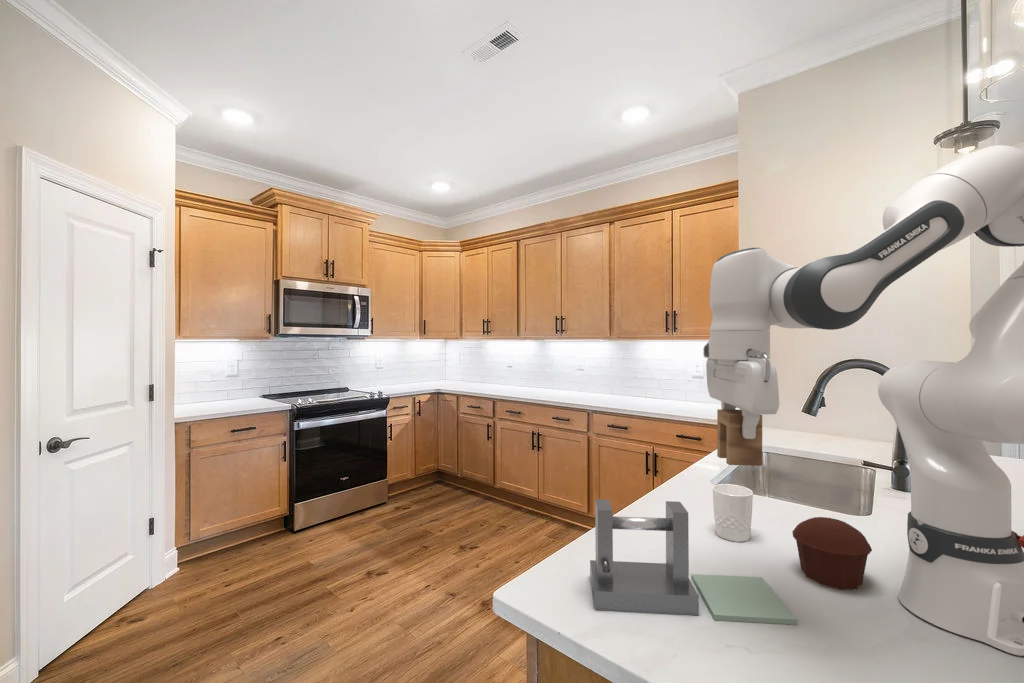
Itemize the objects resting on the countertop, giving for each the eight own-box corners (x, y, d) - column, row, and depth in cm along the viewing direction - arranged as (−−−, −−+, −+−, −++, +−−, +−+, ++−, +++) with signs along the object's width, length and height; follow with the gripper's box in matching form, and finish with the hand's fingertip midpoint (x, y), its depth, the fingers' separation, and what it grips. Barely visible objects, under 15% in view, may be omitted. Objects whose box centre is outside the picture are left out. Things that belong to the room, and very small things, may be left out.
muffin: (855, 566, 85) (855, 513, 85) (885, 598, 74) (885, 538, 74) (784, 557, 88) (784, 506, 88) (802, 587, 78) (802, 529, 78)
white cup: (718, 524, 104) (718, 481, 104) (756, 534, 99) (756, 488, 99) (708, 536, 98) (708, 490, 98) (748, 547, 93) (748, 498, 93)
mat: (761, 581, 80) (761, 577, 80) (797, 624, 68) (797, 619, 68) (691, 578, 81) (691, 574, 81) (714, 620, 69) (714, 614, 69)
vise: (681, 580, 80) (681, 496, 80) (698, 615, 70) (698, 519, 70) (590, 576, 82) (589, 494, 82) (594, 609, 72) (593, 515, 72)
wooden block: (748, 456, 77) (748, 409, 76) (762, 465, 71) (762, 415, 71) (717, 456, 77) (717, 409, 77) (729, 465, 72) (729, 414, 72)
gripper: (791, 350, 63) (791, 449, 63) (735, 347, 84) (735, 422, 84) (744, 350, 64) (744, 448, 64) (700, 347, 84) (700, 421, 84)
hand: (739, 433), depth 74 cm, fingers closed on wooden block, 5 cm apart
